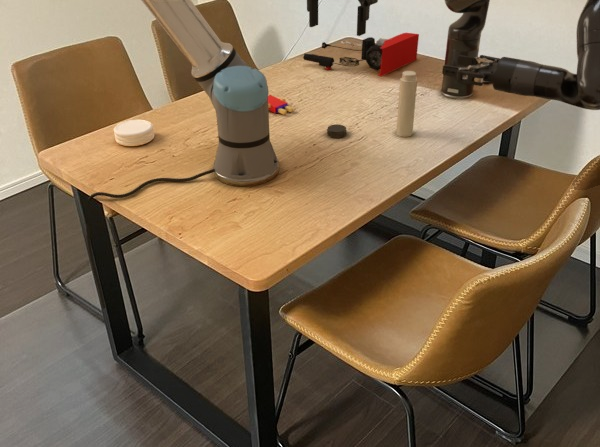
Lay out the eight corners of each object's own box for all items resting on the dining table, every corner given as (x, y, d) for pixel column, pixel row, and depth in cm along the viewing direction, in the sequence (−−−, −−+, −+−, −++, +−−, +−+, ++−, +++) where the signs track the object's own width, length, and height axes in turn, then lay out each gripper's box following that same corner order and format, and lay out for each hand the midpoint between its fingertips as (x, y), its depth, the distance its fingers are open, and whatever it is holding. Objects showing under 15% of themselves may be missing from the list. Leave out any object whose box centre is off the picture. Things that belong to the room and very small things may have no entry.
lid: (325, 137, 161) (325, 130, 161) (330, 129, 165) (330, 123, 164) (343, 139, 160) (343, 132, 159) (348, 131, 164) (348, 125, 163)
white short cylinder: (127, 150, 156) (124, 137, 154) (108, 138, 162) (106, 125, 160) (161, 139, 161) (159, 126, 159) (142, 127, 168) (140, 115, 166)
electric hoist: (302, 34, 206) (381, 48, 191) (344, 20, 225) (419, 32, 210) (301, 64, 211) (379, 80, 196) (343, 48, 230) (416, 62, 215)
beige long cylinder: (393, 134, 162) (397, 73, 154) (401, 128, 165) (406, 69, 156) (407, 138, 160) (412, 76, 151) (415, 132, 163) (421, 72, 154)
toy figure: (297, 104, 175) (269, 91, 182) (279, 110, 172) (251, 97, 178) (297, 112, 177) (269, 99, 184) (279, 119, 173) (251, 105, 180)
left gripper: (283, -70, 141) (286, 25, 152) (378, -61, 128) (373, 42, 139) (303, -73, 146) (304, 19, 157) (396, -66, 133) (390, 34, 144)
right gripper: (531, 52, 142) (464, 41, 150) (510, 69, 132) (439, 56, 140) (525, 83, 146) (460, 71, 154) (504, 102, 136) (436, 88, 144)
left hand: (336, 30), depth 148 cm, fingers open, 13 cm apart
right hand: (450, 64), depth 147 cm, fingers open, 8 cm apart
